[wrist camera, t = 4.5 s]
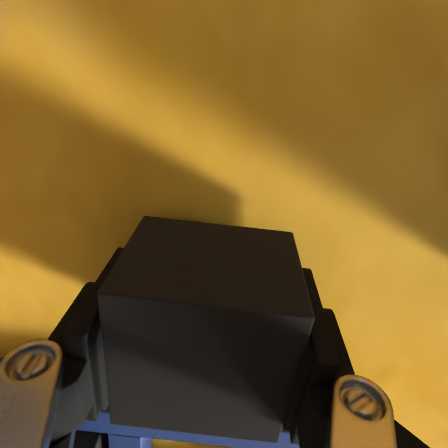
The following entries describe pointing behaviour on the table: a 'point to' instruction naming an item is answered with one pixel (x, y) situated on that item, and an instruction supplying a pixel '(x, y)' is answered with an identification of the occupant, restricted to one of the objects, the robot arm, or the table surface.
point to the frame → (169, 436)
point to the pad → (204, 328)
